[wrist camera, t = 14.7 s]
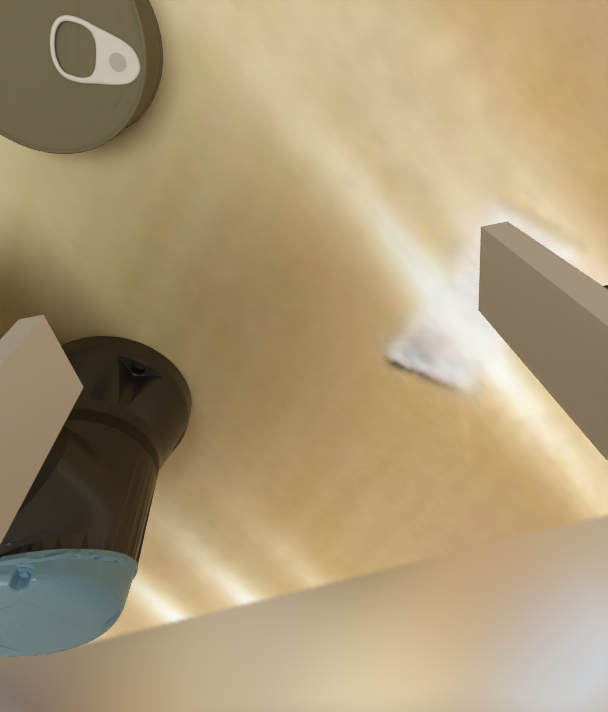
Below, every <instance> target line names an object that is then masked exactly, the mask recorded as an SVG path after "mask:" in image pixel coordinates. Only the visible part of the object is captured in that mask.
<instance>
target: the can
mask: <svg viewBox="0 0 608 712" xmlns="http://www.w3.org/2000/svg"><path fill="white" fill-rule="evenodd" d="M162 64H163V51H162V41H161V35H160V30H159V26H158V23H157V19H156V16H155V14H154V11H153V8H152V6H151V4H150V2H149V0H0V134H1V135H2V136H4V137H6V138H8V139H10V140H12V141H14V142H16V143H18V144H20V145H23V146H26V147H28V148H31V149H35V150H38V151H43V152H48V153H56V154H72V153H80V152H84V151H88V150H91V149H94V148H97V147H99V146H101V145H103V144H105V143H107V142H108V141H110V140H111V139H113V138H114V137H115V136H117V135H118V134H119V133H120V132H121V131H122V130H123V129H124V128H126V127H128V126H129V125H131V124H133V123H134V122H135V121H136V120H138V119H139V118H140V117H141V116H142V115H143V114H144V113H145V111H146V110H147V109H148V107H149V106H150V104H151V102H152V101H153V99H154V97H155V95H156V92H157V89H158V86H159V83H160V79H161V74H162Z"/></svg>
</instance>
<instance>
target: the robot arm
mask: <svg viewBox="0 0 608 712" xmlns="http://www.w3.org/2000/svg"><path fill="white" fill-rule="evenodd" d="M479 311H480V312H481V314H482V315H483V316H484V317H485V318H486V319H487V321H488V322H489V323H490V324H491V325H492V326H493V328H494V329H495V330H496V331H497V332H498V333H499V335H500V336H501V337H502V338H503V339H504V340H505V342H506V343H507V344H508V345H509V346H510V348H511V349H512V350H513V351H514V352H515V353H516V355H517V356H518V357H519V358H520V359H521V360H522V362H523V363H524V364H525V365H526V366H527V367H528V369H529V370H530V371H531V372H532V373H533V374H534V376H535V377H536V378H537V379H538V380H539V381H540V383H541V384H542V385H543V386H544V387H545V388H546V390H547V391H548V392H549V393H550V394H551V396H552V397H553V398H554V399H555V400H556V401H557V403H558V404H559V405H560V406H561V407H562V408H563V410H564V411H565V412H566V413H567V414H568V415H569V417H570V418H571V419H572V420H573V421H574V422H575V424H576V425H577V426H578V427H579V428H580V429H581V431H582V432H583V433H584V434H585V435H586V437H587V438H588V439H589V440H590V441H591V442H592V444H593V445H594V446H595V447H596V448H597V449H598V451H599V452H600V453H601V454H602V455H603V456H604V458H605V459H606V460H608V285H606V286H602V285H600V284H599V283H597V282H596V281H594V280H593V279H591V278H590V277H589V276H587V275H586V274H584V273H583V272H581V271H580V270H578V269H577V268H575V267H574V266H572V265H571V264H569V263H568V262H566V261H565V260H563V259H562V258H560V257H559V256H558V255H556V254H555V253H553V252H552V251H550V250H549V249H547V248H546V247H544V246H543V245H541V244H540V243H538V242H537V241H535V240H534V239H532V238H531V237H529V236H528V235H527V234H525V233H524V232H522V231H521V230H519V229H518V228H516V227H515V226H513V225H512V224H510V223H509V222H503V223H498V224H493V225H488V226H483V227H481V247H480V279H479ZM190 412H191V397H190V392H189V389H188V386H187V384H186V382H185V380H184V378H183V377H182V375H181V374H180V372H179V371H178V370H177V369H176V367H175V366H174V365H173V364H172V363H171V362H170V361H168V360H167V359H166V358H165V357H163V356H162V355H161V354H159V353H158V352H156V351H154V350H152V349H151V348H149V347H146V346H144V345H142V344H139V343H136V342H134V341H130V340H126V339H121V338H115V337H90V338H84V339H79V340H76V341H73V342H70V343H68V344H66V345H64V346H62V347H61V345H60V344H59V342H58V340H57V338H56V336H55V335H54V333H53V331H52V329H51V327H50V325H49V324H48V322H47V320H46V318H45V316H44V315H39V316H34V317H29V318H24V319H19V320H18V321H17V322H16V323H15V324H14V325H13V326H12V327H11V329H10V330H9V331H8V332H7V333H6V334H5V335H4V336H3V337H2V338H1V340H0V656H7V657H18V656H36V655H44V654H51V653H56V652H61V651H65V650H69V649H72V648H75V647H78V646H81V645H83V644H86V643H88V642H90V641H92V640H94V639H96V638H97V637H99V636H100V635H102V634H103V633H105V632H106V631H107V630H108V629H109V628H110V627H112V625H113V624H114V623H115V622H116V621H117V619H118V618H119V616H120V614H121V612H122V611H123V608H124V605H125V602H126V599H127V596H128V593H129V589H130V586H131V583H132V580H133V579H134V577H135V576H136V573H137V569H138V562H139V557H140V553H141V548H142V544H143V539H144V534H145V530H146V525H147V521H148V516H149V512H150V507H151V502H152V498H153V493H154V489H155V484H156V480H157V476H158V472H159V469H160V468H161V466H162V465H163V464H164V462H165V461H166V459H167V458H168V456H169V455H170V453H171V452H172V451H173V450H174V449H175V448H176V447H177V446H178V444H179V443H180V442H181V440H182V438H183V436H184V434H185V432H186V429H187V426H188V422H189V417H190Z"/></svg>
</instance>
